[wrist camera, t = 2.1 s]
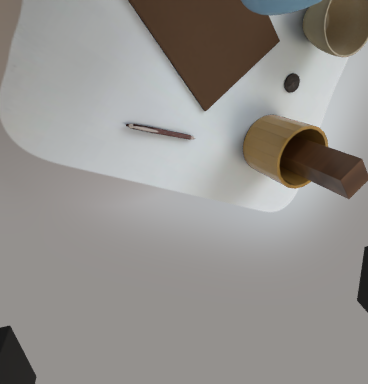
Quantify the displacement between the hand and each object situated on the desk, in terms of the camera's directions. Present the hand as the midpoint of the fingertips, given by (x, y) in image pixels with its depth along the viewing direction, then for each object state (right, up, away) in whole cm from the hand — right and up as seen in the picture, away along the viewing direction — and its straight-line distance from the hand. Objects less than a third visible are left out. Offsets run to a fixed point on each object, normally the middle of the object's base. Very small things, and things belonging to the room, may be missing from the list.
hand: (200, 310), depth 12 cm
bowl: (+20, +32, +41) cm, 56 cm away
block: (+14, +13, +46) cm, 49 cm away
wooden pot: (+14, +13, +46) cm, 50 cm away
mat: (+3, +29, +33) cm, 44 cm away
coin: (+17, +23, +43) cm, 52 cm away
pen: (-4, +13, +37) cm, 39 cm away
